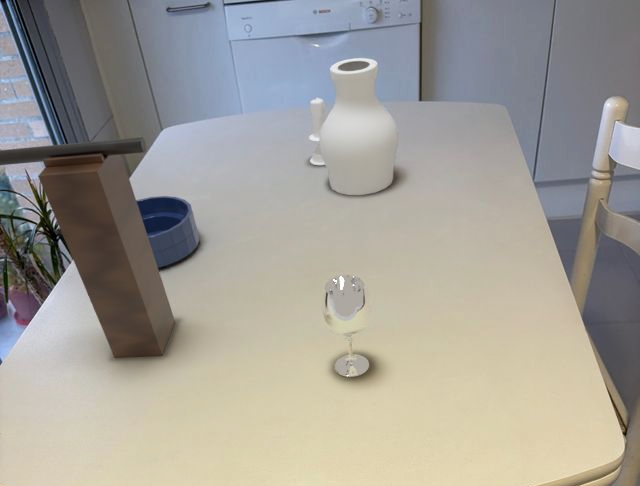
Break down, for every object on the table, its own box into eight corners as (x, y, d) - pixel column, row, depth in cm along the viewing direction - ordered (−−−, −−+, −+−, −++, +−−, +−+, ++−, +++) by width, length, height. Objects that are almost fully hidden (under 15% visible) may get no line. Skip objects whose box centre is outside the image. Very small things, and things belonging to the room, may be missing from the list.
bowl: (101, 275, 108) (88, 242, 103) (127, 230, 118) (116, 199, 114) (189, 270, 106) (180, 236, 101) (207, 225, 116) (199, 193, 112)
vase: (313, 176, 126) (299, 64, 112) (379, 158, 129) (374, 46, 115) (340, 205, 116) (329, 85, 102) (412, 184, 119) (411, 65, 105)
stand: (114, 357, 91) (34, 168, 72) (130, 324, 96) (60, 140, 78) (162, 355, 90) (94, 163, 71) (175, 321, 95) (115, 135, 77)
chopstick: (-22, 167, 76) (-26, 152, 75) (-14, 166, 77) (-18, 152, 76) (142, 152, 73) (139, 137, 72) (147, 152, 75) (144, 137, 74)
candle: (314, 154, 134) (307, 92, 125) (339, 154, 132) (333, 92, 124) (306, 165, 130) (299, 102, 122) (332, 166, 129) (326, 102, 120)
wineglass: (382, 359, 84) (378, 278, 75) (359, 385, 81) (352, 304, 72) (344, 347, 86) (336, 268, 78) (321, 372, 83) (310, 292, 75)
